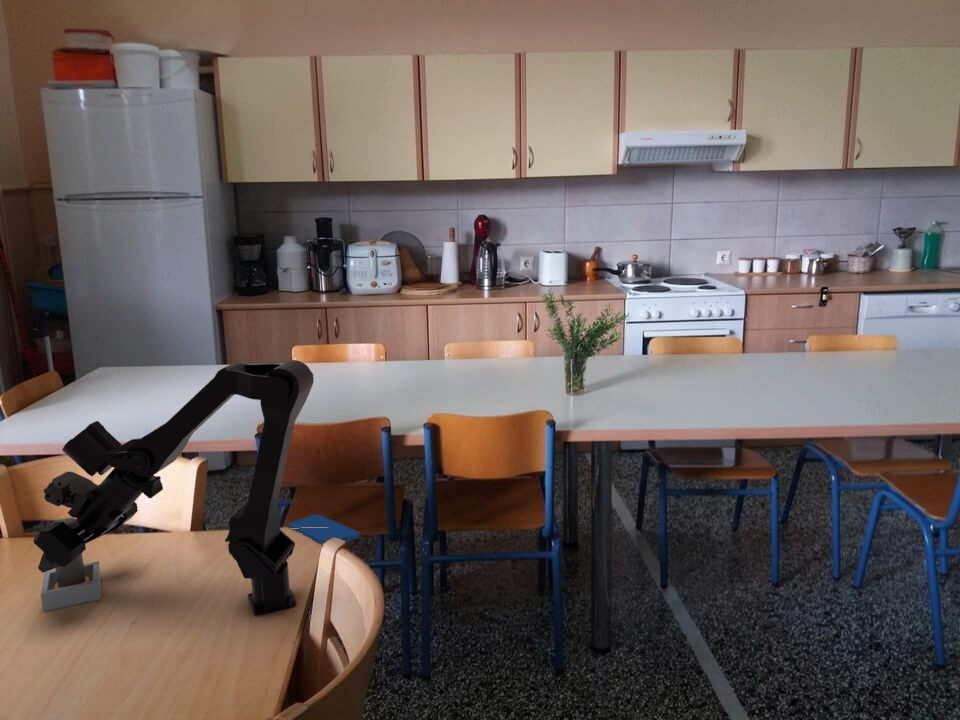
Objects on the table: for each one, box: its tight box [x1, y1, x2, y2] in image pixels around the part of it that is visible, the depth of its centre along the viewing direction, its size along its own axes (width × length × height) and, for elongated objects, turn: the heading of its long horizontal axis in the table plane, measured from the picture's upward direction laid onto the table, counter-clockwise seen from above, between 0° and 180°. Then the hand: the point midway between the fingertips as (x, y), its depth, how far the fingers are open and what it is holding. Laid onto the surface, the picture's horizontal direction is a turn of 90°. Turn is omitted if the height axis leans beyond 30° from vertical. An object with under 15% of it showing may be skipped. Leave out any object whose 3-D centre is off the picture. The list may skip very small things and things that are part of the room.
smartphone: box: [287, 513, 361, 546], centre depth 143 cm, size 7×1×15 cm
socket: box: [40, 560, 102, 612], centre depth 121 cm, size 8×8×3 cm
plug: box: [49, 517, 89, 589], centre depth 120 cm, size 5×5×12 cm
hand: (60, 556), depth 120 cm, fingers open, 9 cm apart
